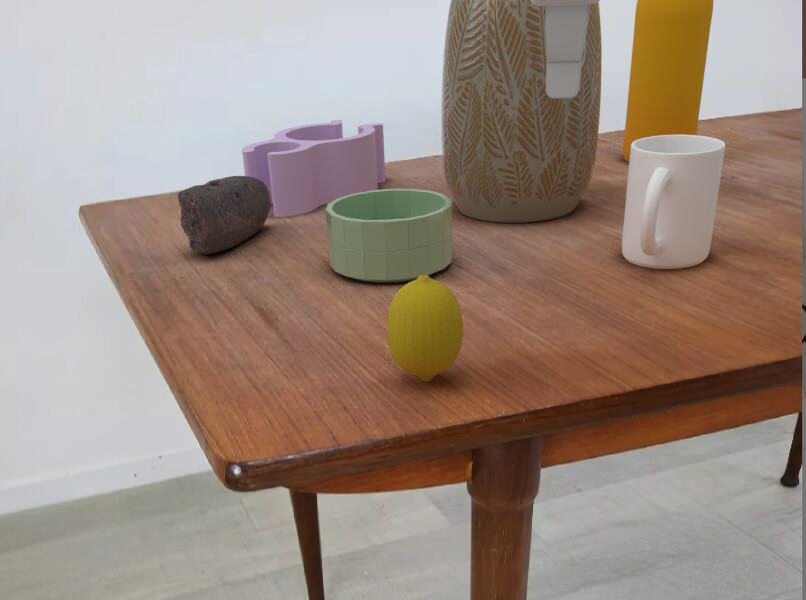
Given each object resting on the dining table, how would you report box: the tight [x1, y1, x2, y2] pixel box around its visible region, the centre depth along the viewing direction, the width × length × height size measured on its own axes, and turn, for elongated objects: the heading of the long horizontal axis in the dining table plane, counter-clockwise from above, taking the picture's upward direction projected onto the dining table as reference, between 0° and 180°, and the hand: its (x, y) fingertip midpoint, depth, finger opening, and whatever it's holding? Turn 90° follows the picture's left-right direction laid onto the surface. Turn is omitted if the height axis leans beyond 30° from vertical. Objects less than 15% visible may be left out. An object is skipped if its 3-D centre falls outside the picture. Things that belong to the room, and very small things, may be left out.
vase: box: [441, 0, 603, 224], centre depth 101 cm, size 17×17×27 cm
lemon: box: [386, 275, 464, 383], centre depth 68 cm, size 6×6×8 cm
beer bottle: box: [622, 0, 714, 163], centre depth 117 cm, size 9×9×29 cm
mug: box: [621, 134, 726, 270], centre depth 87 cm, size 12×8×10 cm
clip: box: [241, 119, 386, 218], centre depth 117 cm, size 20×12×7 cm, turn 144°
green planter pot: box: [325, 188, 453, 283], centre depth 92 cm, size 12×12×6 cm
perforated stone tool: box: [177, 175, 271, 255], centre depth 101 cm, size 15×5×7 cm, turn 151°
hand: (565, 82), depth 55 cm, fingers open, 8 cm apart
